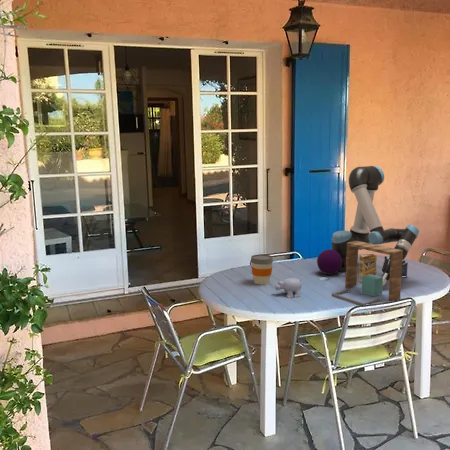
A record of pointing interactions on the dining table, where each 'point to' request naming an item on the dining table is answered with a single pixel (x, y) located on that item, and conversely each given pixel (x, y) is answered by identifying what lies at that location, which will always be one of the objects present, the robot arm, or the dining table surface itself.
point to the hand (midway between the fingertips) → (381, 284)
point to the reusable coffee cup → (261, 268)
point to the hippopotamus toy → (290, 286)
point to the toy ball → (329, 261)
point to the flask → (404, 270)
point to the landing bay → (351, 299)
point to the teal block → (372, 285)
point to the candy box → (367, 265)
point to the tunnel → (395, 253)
